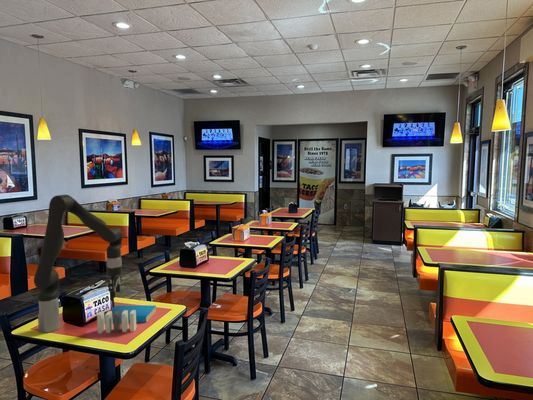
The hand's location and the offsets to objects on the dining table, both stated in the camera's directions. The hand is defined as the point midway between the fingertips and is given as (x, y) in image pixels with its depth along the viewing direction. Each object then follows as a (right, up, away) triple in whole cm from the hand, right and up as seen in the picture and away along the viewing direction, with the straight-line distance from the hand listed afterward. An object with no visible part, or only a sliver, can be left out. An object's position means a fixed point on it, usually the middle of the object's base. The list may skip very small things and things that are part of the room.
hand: (115, 294), depth 199 cm
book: (+1, -19, +21) cm, 28 cm away
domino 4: (+4, -20, +2) cm, 20 cm away
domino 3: (0, -20, +2) cm, 20 cm away
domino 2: (-4, -20, +2) cm, 20 cm away
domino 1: (-8, -20, +1) cm, 22 cm away
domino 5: (+9, -20, +3) cm, 22 cm away
